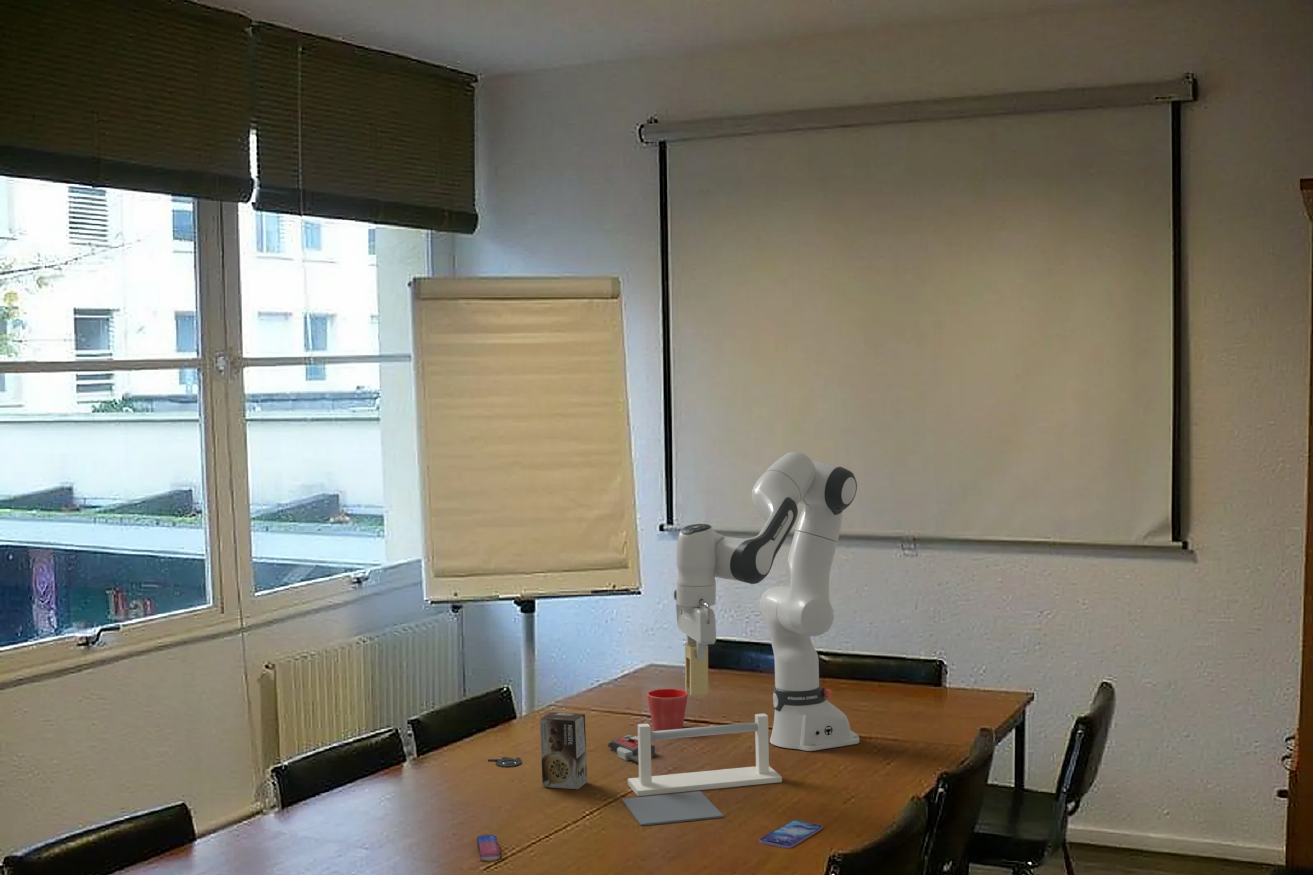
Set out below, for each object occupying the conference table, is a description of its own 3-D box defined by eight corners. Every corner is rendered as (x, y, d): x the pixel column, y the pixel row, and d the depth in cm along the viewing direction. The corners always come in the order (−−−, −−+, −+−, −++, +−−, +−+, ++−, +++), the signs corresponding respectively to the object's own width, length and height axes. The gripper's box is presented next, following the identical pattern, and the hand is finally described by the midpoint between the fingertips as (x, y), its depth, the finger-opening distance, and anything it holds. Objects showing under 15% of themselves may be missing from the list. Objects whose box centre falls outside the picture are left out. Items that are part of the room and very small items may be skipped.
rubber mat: (700, 792, 320) (700, 791, 320) (723, 817, 303) (723, 815, 303) (622, 800, 316) (622, 798, 316) (640, 825, 298) (640, 824, 298)
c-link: (702, 689, 326) (701, 642, 326) (708, 694, 321) (708, 646, 321) (685, 690, 325) (685, 643, 325) (691, 695, 320) (690, 647, 320)
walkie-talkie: (600, 751, 357) (642, 770, 340) (600, 734, 357) (642, 751, 340) (630, 745, 362) (673, 763, 345) (630, 728, 362) (672, 745, 345)
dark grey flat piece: (482, 763, 349) (482, 760, 349) (506, 757, 355) (506, 754, 355) (507, 770, 343) (507, 767, 343) (531, 763, 348) (531, 760, 348)
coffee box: (588, 782, 330) (586, 713, 330) (577, 790, 324) (575, 720, 323) (552, 779, 333) (550, 711, 333) (541, 787, 327) (539, 717, 326)
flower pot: (689, 723, 381) (689, 688, 380) (686, 734, 370) (685, 697, 370) (650, 723, 382) (649, 688, 381) (646, 734, 371) (645, 697, 371)
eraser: (501, 862, 280) (501, 853, 280) (480, 864, 279) (480, 855, 279) (496, 841, 291) (496, 833, 291) (476, 843, 290) (476, 835, 290)
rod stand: (768, 770, 337) (766, 709, 336) (781, 782, 327) (780, 719, 326) (627, 783, 328) (626, 721, 328) (637, 796, 319) (636, 731, 318)
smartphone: (824, 825, 295) (789, 846, 282) (824, 830, 295) (789, 851, 282) (793, 819, 299) (757, 839, 286) (793, 823, 299) (757, 844, 286)
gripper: (722, 603, 313) (723, 665, 313) (697, 589, 333) (698, 648, 333) (695, 604, 311) (695, 667, 312) (671, 590, 331) (672, 649, 332)
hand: (696, 657), depth 323 cm, fingers closed on c-link, 5 cm apart
